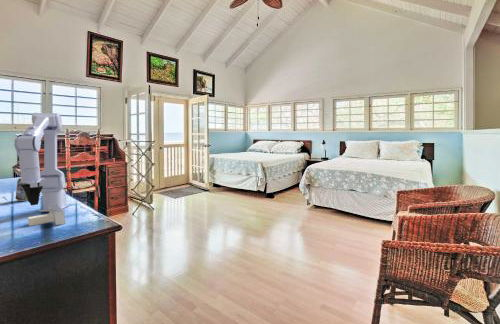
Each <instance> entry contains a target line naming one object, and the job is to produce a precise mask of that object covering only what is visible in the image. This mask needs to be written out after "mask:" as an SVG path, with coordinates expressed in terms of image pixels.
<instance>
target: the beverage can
mask: <svg viewBox="0 0 500 324" xmlns="http://www.w3.org/2000/svg"><path fill="white" fill-rule="evenodd" d="M16 182H17V183H16V190H15V199H16V200H17V201H20V202H21V201H22V202H25V201H28V199H27V196H26V193H25V191H24V189H23V187H22V186H21V185H22V184H26V183H21V177H18V179H17V180H16Z"/></svg>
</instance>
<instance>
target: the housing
mask: <svg viewBox="0 0 500 324" xmlns="http://www.w3.org/2000/svg"><path fill="white" fill-rule="evenodd" d="M50 213H53V219H54V221H53V223H54V225H55V226H61V225H64V224H66V215H65V211H64V209H61V208H60V207H59V206H58V205H52V206H49V212H48V214H50Z"/></svg>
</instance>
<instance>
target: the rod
mask: <svg viewBox="0 0 500 324" xmlns="http://www.w3.org/2000/svg"><path fill="white" fill-rule="evenodd" d="M27 220H28V221H27V223H28V224H27V225H28V227H30V226H37V225H42V224H43V225H44V224H48V223H54V219H53V213H50V214H49V213H45V214H40V215H35V216H28V217H27Z"/></svg>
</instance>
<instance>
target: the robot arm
mask: <svg viewBox="0 0 500 324" xmlns="http://www.w3.org/2000/svg"><path fill="white" fill-rule="evenodd" d="M31 124H32V125H30V126H28V127H27V128H26V129H25V131H24V132H23V134H22V135H21V136H18V137H16V138H15V139H14V145H13V146H14V148H15V151H16V155H17V157H18V159H19V160H18V161H19V171H20V178H21V183H26V184H22V185H21V186H22V187H23V189H24V191H25V193H26V196H27V199H28V200H27V201H28V203H29V204H30V206H36V205H37V206H38V205H39V203H40V202H39V201H40V195H41V194H42V195H41V196H42V205H43V208H42V209H39V210H38V212H39V213H42V212H43V213H47V212H48V213H49V206H52V205H58V206H59V207H60V208H61V209H62V210H64V209H65V208H68V207H69V204H67V202H68V201H67V194H66V191H65V190H64V189H65V187H66V178H65V173H64V172H63V171H61V170H60V169H58V134H60V133H62V129H63V120H62V116H61V114H60V113H59V112H56V113H54V112H52V113H51V112H33V113H32V114H31ZM42 139H44V141H43V142H44V144H43V145H44V147H43V148H44V149H43V150H44V152H43V154H44V155H43V156H44V157H43V159H44V161H43V162H44V163H43V166H44V168H43V169H42V170H40V169H41V168H40V158H39V157H40V156H39V152H40V150H41V145H42Z"/></svg>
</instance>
